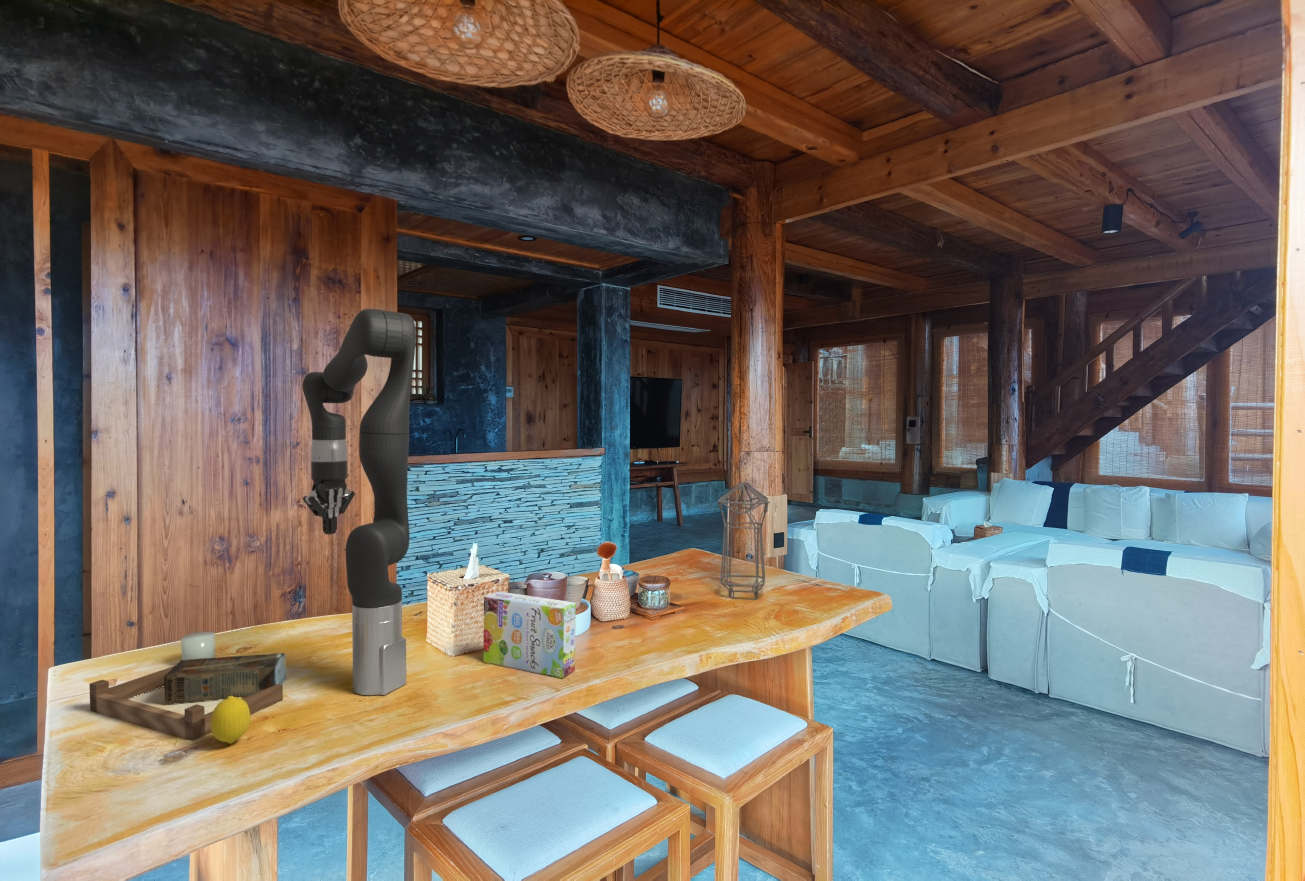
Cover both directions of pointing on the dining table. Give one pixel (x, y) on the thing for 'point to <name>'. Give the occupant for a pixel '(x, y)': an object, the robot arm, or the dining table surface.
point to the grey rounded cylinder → (198, 645)
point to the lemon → (230, 719)
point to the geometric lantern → (763, 501)
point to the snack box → (530, 633)
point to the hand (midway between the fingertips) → (330, 533)
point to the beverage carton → (223, 677)
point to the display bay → (160, 719)
